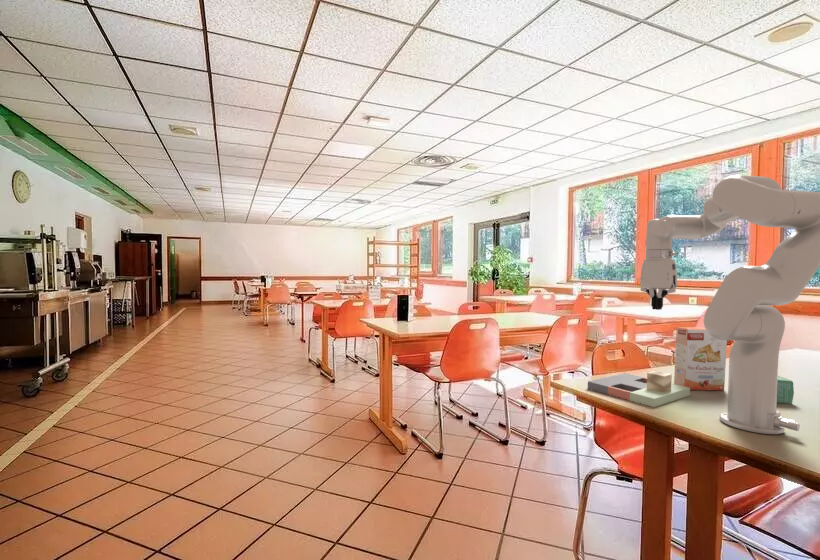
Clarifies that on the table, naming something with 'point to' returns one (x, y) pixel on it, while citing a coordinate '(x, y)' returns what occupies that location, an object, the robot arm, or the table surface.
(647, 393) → the platform
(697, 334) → the cracker box
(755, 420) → the robot arm
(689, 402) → the table surface
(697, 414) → the table surface
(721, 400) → the table surface
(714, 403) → the table surface
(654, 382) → the block
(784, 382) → the box
